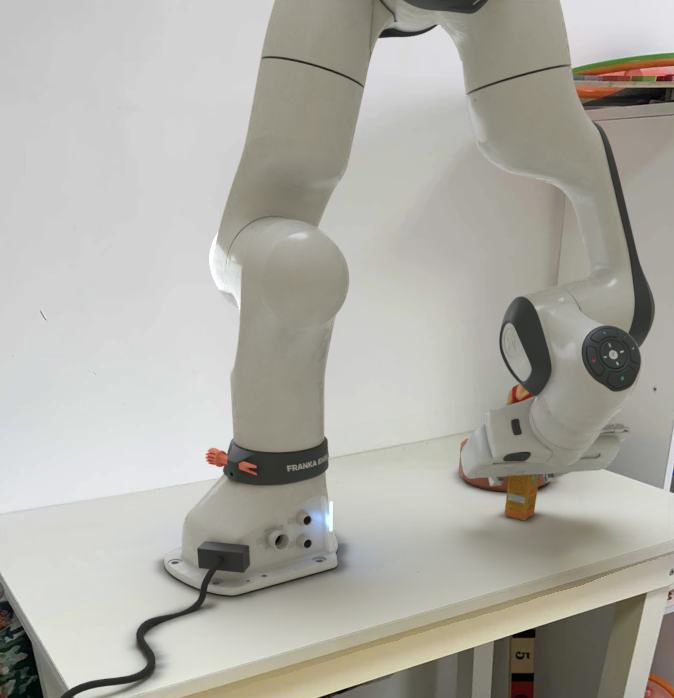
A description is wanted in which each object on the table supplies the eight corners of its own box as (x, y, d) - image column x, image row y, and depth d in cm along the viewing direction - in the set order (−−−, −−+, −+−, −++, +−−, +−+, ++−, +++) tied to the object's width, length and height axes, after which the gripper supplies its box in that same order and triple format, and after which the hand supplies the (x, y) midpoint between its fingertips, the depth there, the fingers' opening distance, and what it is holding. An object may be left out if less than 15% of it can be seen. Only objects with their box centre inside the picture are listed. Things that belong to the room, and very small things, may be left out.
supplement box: (526, 521, 120) (533, 451, 116) (503, 516, 122) (510, 446, 117) (536, 514, 122) (544, 445, 118) (514, 509, 124) (521, 440, 120)
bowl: (515, 499, 128) (519, 467, 125) (440, 477, 137) (442, 446, 134) (568, 477, 137) (572, 446, 134) (494, 458, 146) (496, 428, 143)
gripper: (630, 402, 110) (586, 454, 123) (475, 410, 107) (447, 463, 120) (641, 447, 108) (595, 495, 121) (484, 456, 105) (455, 504, 118)
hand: (520, 479), depth 120 cm, fingers open, 6 cm apart
